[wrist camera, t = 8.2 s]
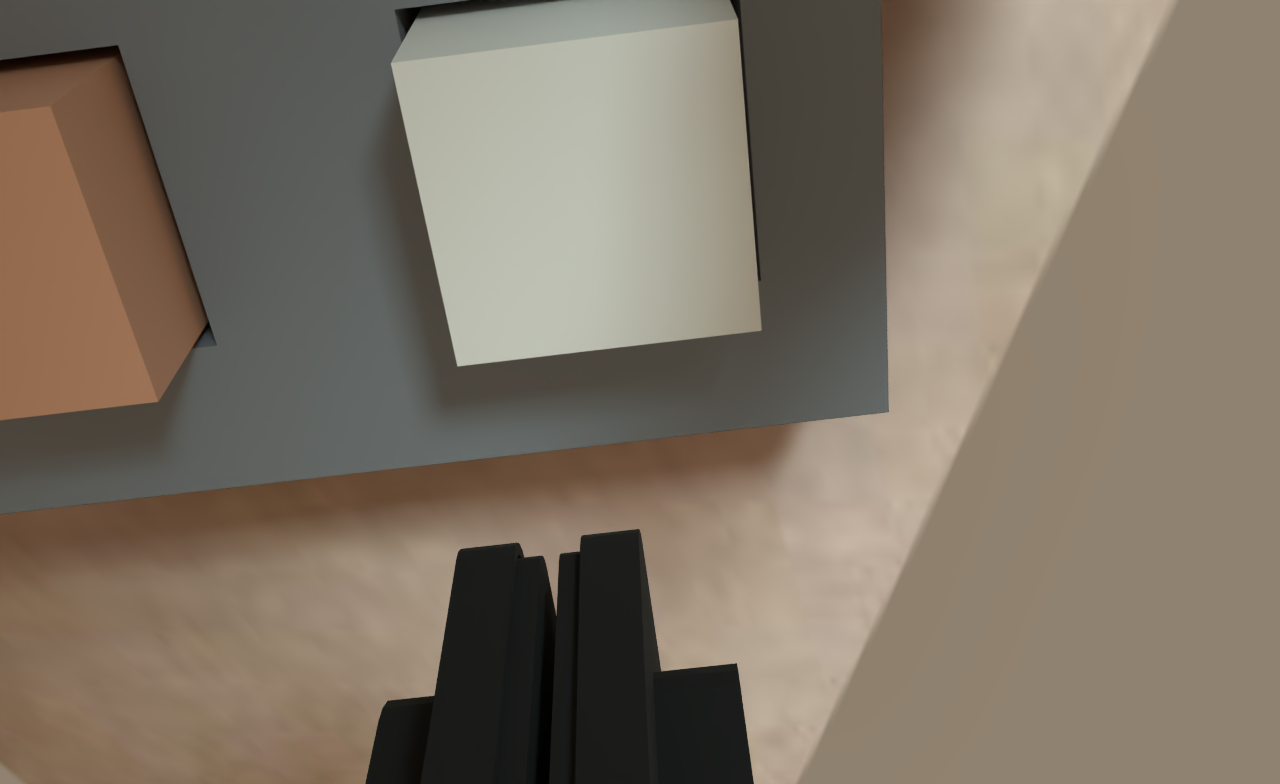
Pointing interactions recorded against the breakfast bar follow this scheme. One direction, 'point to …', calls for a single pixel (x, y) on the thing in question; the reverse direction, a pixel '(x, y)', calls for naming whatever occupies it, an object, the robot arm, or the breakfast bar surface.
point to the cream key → (581, 172)
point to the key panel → (405, 269)
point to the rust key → (85, 243)
